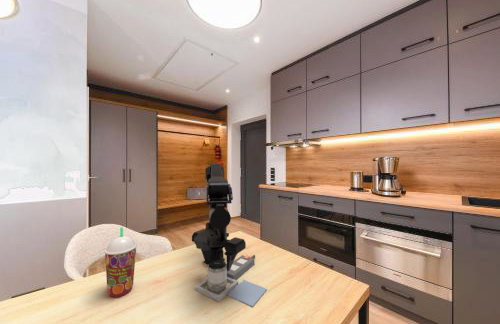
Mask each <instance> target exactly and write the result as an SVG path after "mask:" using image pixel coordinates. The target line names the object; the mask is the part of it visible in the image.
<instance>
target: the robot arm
mask: <svg viewBox="0 0 500 324" xmlns="http://www.w3.org/2000/svg"><path fill="white" fill-rule="evenodd" d="M204 170H205V172H204V174H205V175H204V180H206V192H205V193H206V205H208V206H209V207H208V208H209V210H208V211H209V213H208V222H206V224H205V228H202V229H199V230H196V231H194V232H193V233H192V235H191V242H193V243H194V245H195V247H196V249H197V250H198V249H199V250H200V251H201V253H202V255H203V259H204V260H203V263H205V264H207V265H209V263H211V262H212V261H216V260H221V261H224V262H226V264H227V271H229V270H230V269H231V266H232V264H233V262H234V260H236V257H237V255H238V254H239V253H241V252H242V251H243V250H245V249H246V248H247V247H246V246H247V245H246V244H247V243H246V240H245V239H243V238H239V237H236V236H235V237H233V238H231V239H228V237H230V234H229V232H227V228H228V227H229V225H230V223H231V220H232V218H231V214H230V213H231V212H230V211H229V209H228V204H232V203H233V202H232V201H233V199H234V196H233V189H232V186H231V184H230V183H229V181H228V179H227V178H225V168H224V167H223V164H221V163H214V162H213V163H210V164H209V166H207V167H205V169H204ZM224 250H225V251H224ZM224 255H225V256H226V258H224Z"/></svg>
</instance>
